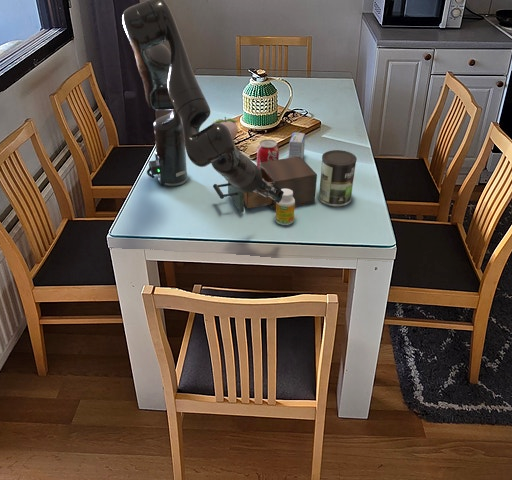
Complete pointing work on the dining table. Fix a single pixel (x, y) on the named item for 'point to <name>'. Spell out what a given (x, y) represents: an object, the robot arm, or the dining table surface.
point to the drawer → (245, 195)
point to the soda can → (267, 151)
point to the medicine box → (297, 145)
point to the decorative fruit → (229, 125)
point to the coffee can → (337, 177)
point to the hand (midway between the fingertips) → (266, 194)
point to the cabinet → (292, 178)
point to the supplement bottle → (285, 208)
